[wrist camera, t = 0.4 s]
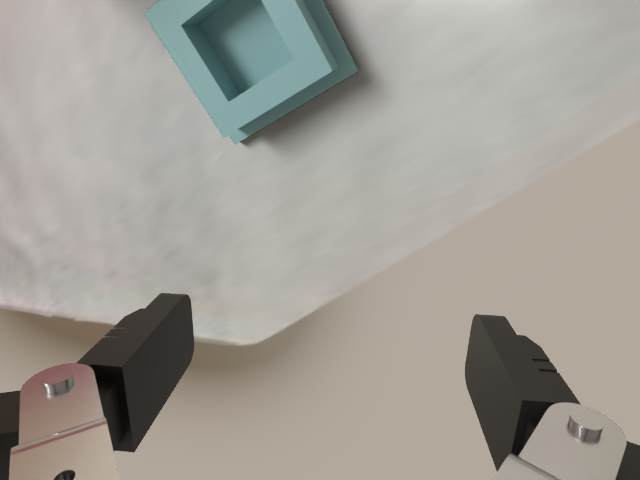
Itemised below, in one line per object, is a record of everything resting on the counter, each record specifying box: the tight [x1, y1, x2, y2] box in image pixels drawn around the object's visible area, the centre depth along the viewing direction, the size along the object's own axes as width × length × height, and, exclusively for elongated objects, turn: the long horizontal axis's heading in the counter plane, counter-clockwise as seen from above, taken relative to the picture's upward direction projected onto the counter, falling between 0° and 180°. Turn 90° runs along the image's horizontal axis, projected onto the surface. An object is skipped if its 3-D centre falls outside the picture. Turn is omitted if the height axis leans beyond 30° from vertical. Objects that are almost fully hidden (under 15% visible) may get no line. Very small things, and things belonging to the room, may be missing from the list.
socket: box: [144, 0, 359, 144], centre depth 32 cm, size 12×12×4 cm
